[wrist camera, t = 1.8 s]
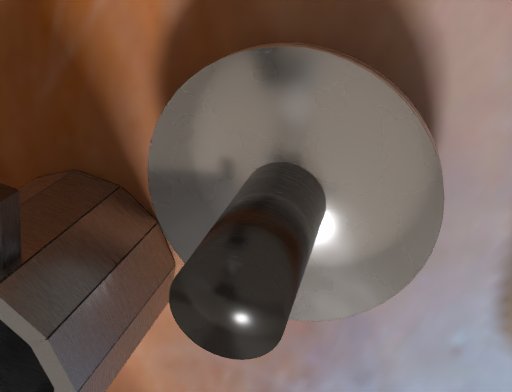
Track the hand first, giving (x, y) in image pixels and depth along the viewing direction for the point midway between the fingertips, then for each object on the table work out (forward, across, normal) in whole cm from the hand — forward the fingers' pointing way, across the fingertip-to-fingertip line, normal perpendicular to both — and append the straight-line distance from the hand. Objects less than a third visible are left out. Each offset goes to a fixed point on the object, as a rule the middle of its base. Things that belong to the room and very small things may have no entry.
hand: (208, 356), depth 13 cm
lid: (+11, 0, 0) cm, 11 cm away
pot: (+11, -10, -8) cm, 18 cm away
